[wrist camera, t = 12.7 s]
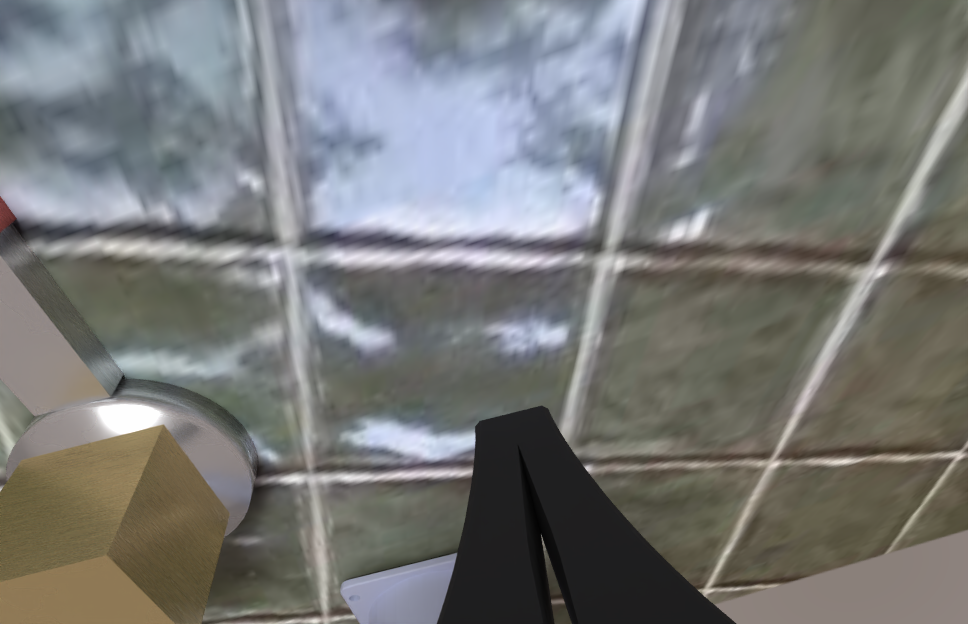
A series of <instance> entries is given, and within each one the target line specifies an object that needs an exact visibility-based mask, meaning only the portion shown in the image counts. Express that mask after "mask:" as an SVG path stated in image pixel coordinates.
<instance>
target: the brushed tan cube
mask: <svg viewBox="0 0 968 624" xmlns="http://www.w3.org/2000/svg"><path fill="white" fill-rule="evenodd" d="M229 516H230V513H229V512H228V510H227V509H226V508H225V506H224V505H223V504H222V502H221V501H220V500H219V498H218V497H217V496H216V494H215V493H214V491H213V490H212V489H211V487H210V486H209V485H208V483H207V482H206V481H205V479H204V478H203V477H202V475H201V474H200V473H199V471H198V470H197V468H196V467H195V466H194V464H193V463H192V462H191V460H190V459H189V458H188V456H187V455H186V454H185V452H184V451H183V450H182V448H181V447H180V445H179V444H178V443H177V441H176V440H175V439H174V437H173V436H172V435H171V433H170V432H169V431H168V429H167V428H166V427H165V425H164V424H163V425H159V426H155V427H151V428H147V429H143V430H139V431H135V432H131V433H127V434H123V435H119V436H115V437H111V438H107V439H103V440H99V441H95V442H91V443H87V444H83V445H79V446H75V447H71V448H67V449H64V450H60V451H56V452H52V453H48V454H44V455H40V456H36V457H32V458H28V459H24V460H21V462H20V463H19V465H18V466H17V468H16V469H15V471H14V472H13V474H12V475H11V477H10V478H9V480H8V481H7V483H6V484H5V486H4V487H3V489H2V490H1V492H0V624H201V623H202V619H203V615H204V611H205V608H206V604H207V600H208V596H209V592H210V588H211V585H212V581H213V577H214V573H215V569H216V565H217V562H218V558H219V554H220V550H221V546H222V543H223V539H224V535H225V531H226V527H227V523H228V520H229Z"/></svg>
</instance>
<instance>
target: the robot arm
mask: <svg viewBox="0 0 968 624" xmlns="http://www.w3.org/2000/svg"><path fill="white" fill-rule="evenodd" d="M475 435H476V441H475V458H474V468H473V476H472V484H471V490H470V495H469V501H468V507H467V512H466V518H465V523H464V528H463V532H462V536H461V540H460V544H459V548H458V552H457V553H454V554H450V555H446V556H442V557H438V558H434V559H430V560H426V561H422V562H418V563H414V564H410V565H406V566H402V567H398V568H394V569H390V570H386V571H382V572H378V573H374V574H370V575H366V576H362V577H357V578H353V579H349V580H346V581H344V582H343V583H342V585H341V591H340V592H341V595H342V596H343V598H344V600H345V601H346V603H347V604H348V606H349V607H350V609H351V610H352V612H353V614H354V615H355V617H356V618H357V620H358V621H359V623H360V624H554V618H553V611H552V604H551V598H550V591H549V584H548V578H547V571H546V565H545V558H544V551H543V545H542V538H543V541H544V544H545V546H546V549H547V552H548V555H549V558H550V561H551V564H552V567H553V570H554V573H555V575H556V578H557V581H558V584H559V587H560V590H561V593H562V596H563V599H564V602H565V604H566V607H567V610H568V613H569V616H570V619H571V622H572V624H736V623H735V622H734V621H733V620H732V619H730V618H729V617H728V616H727V615H726V614H724V613H723V612H722V611H721V610H720V609H719V608H717V607H716V606H715V605H714V604H713V603H711V602H710V601H709V600H708V599H707V598H706V597H704V596H703V595H702V594H701V593H700V592H699V591H698V590H697V589H696V588H695V587H694V586H692V585H691V584H690V583H689V582H688V581H687V580H686V579H685V578H684V577H683V576H682V575H681V574H680V573H678V572H677V571H676V570H675V569H674V568H673V567H672V566H671V565H670V564H669V563H668V562H667V561H666V560H665V559H664V558H663V557H662V556H661V555H660V554H659V553H658V552H657V551H656V550H655V549H654V548H653V547H652V546H651V545H650V544H649V543H648V542H647V541H646V540H645V539H644V537H643V536H642V535H641V534H640V533H639V532H638V531H637V530H636V529H635V528H634V527H633V526H632V524H631V523H630V522H629V521H628V520H627V519H626V518H625V517H624V516H623V514H622V513H621V512H620V511H619V510H618V509H617V508H616V506H615V505H614V504H613V503H612V502H611V500H610V499H609V498H608V497H607V496H606V495H605V493H604V492H603V491H602V490H601V488H600V487H599V486H598V484H597V483H596V482H595V481H594V479H593V478H592V477H591V476H590V474H589V473H588V472H587V470H586V469H585V468H584V466H583V465H582V464H581V462H580V461H579V460H578V458H577V457H576V455H575V454H574V452H573V451H572V449H571V448H570V447H569V445H568V444H567V442H566V441H565V439H564V437H563V436H562V434H561V433H560V431H559V429H558V427H557V426H556V424H555V422H554V420H553V418H552V416H551V414H550V412H549V410H548V408H545V407H543V406H538V407H534V408H530V409H526V410H522V411H518V412H514V413H510V414H506V415H502V416H498V417H494V418H490V419H486V420H482V421H479V423H478V424H477V425H476V426H475ZM541 535H542V538H541Z"/></svg>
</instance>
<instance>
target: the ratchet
mask: <svg viewBox="0 0 968 624" xmlns="http://www.w3.org/2000/svg"><path fill="white" fill-rule="evenodd" d="M15 220H16V217H15V216H14V214H13V213H12V212H11V210H10V209H9V208H8V206H7V205H6V203H5V202H4V201H3V199H2V198H1V197H0V379H1V380H2V381H3V382H4V383H5V384H6V385H7V386H8V387H9V388H10V390H11V391H12V392H13V393H14V394H15V395H16V396H17V397H18V398H19V400H20V401H21V402H22V403H23V404H24V405H25V406H26V407H27V408H28V409H29V411H30V412H31V413H32V414H33V415H34V416H35V417H34V419H33V420H32V422H31V423H30V424H29V426H28V427H27V429H26V430H25V432H24V433H23V435H22V436H21V437H20V439H19V440H18V442H17V443H16V445H15V446H14V447H13V449H12V451H11V454H10V456H9V458H8V462H7V467H6V476H7V481H8V480H9V478H10V477H11V475H12V474H13V472H14V471H15V469H16V468H17V466H18V465H19V463H20V462H21V460H24V459H28V458H32V457H36V456H40V455H44V454H48V453H52V452H56V451H60V450H64V449H67V448H71V447H75V446H79V445H83V444H87V443H91V442H95V441H99V440H103V439H107V438H111V437H115V436H119V435H123V434H127V433H131V432H135V431H139V430H143V429H147V428H151V427H155V426H159V425H163V424H164V425H165V427H166V428H167V429H168V431H169V432H170V433H171V435H172V436H173V437H174V439H175V440H176V441H177V443H178V444H179V445H180V447H181V448H182V450H183V451H184V452H185V454H186V455H187V456H188V458H189V459H190V460H191V462H192V463H193V464H194V466H195V467H196V468H197V470H198V471H199V473H200V474H201V475H202V477H203V478H204V479H205V481H206V482H207V483H208V485H209V486H210V487H211V489H212V490H213V491H214V493H215V494H216V496H217V497H218V498H219V500H220V501H221V502H222V504H223V505H224V506H225V508H226V509H227V510H228V512H229V513H230V516H229V520H228V523H227V527H226V531H225V535H224V537H226V536H227V535H228V534H230V533H231V532H232V531H233V530H234V529H235V528H236V527H237V526H238V525H239V524H240V523H241V521H242V520H243V519H244V517H245V515H246V513H247V511H248V508H249V504H250V501H251V496H252V492H253V488H254V483H255V479H256V475H257V469H258V458H257V452H256V449H255V446H254V443H253V441H252V439H251V437H250V435H249V434H248V432H247V431H246V429H245V428H244V427H243V425H242V424H241V423H240V422H239V421H238V420H237V419H236V418H235V417H234V416H233V415H232V414H230V413H229V412H228V411H227V410H225V409H224V408H223V407H221V406H220V405H218V404H216V403H215V402H213V401H212V400H210V399H208V398H206V397H204V396H202V395H200V394H198V393H195V392H193V391H190V390H187V389H185V388H182V387H178V386H175V385H171V384H167V383H162V382H157V381H151V380H141V379H121V378H122V376H123V372H122V371H121V370H120V368H119V367H118V366H117V364H116V363H115V362H114V360H113V359H112V358H111V356H110V355H109V353H108V352H107V351H106V349H105V348H104V347H103V345H102V344H101V343H100V341H99V340H98V339H97V337H96V336H95V335H94V333H93V332H92V331H91V329H90V328H89V326H88V325H87V324H86V322H85V321H84V320H83V318H82V317H81V316H80V314H79V313H78V312H77V310H76V309H75V308H74V306H73V305H72V304H71V302H70V301H69V299H68V298H67V297H66V295H65V294H64V293H63V291H62V290H61V289H60V287H59V286H58V285H57V283H56V282H55V281H54V279H53V278H52V276H51V275H50V274H49V272H48V271H47V270H46V268H45V267H44V266H43V264H42V263H41V262H40V260H39V259H38V258H37V256H36V255H35V254H34V252H33V251H32V249H31V248H30V247H29V245H28V244H27V243H26V241H25V240H24V239H23V237H22V236H21V235H20V233H19V232H18V231H17V229H16V228H15V227H14V225H13V224H12V222H13V221H15Z"/></svg>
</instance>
